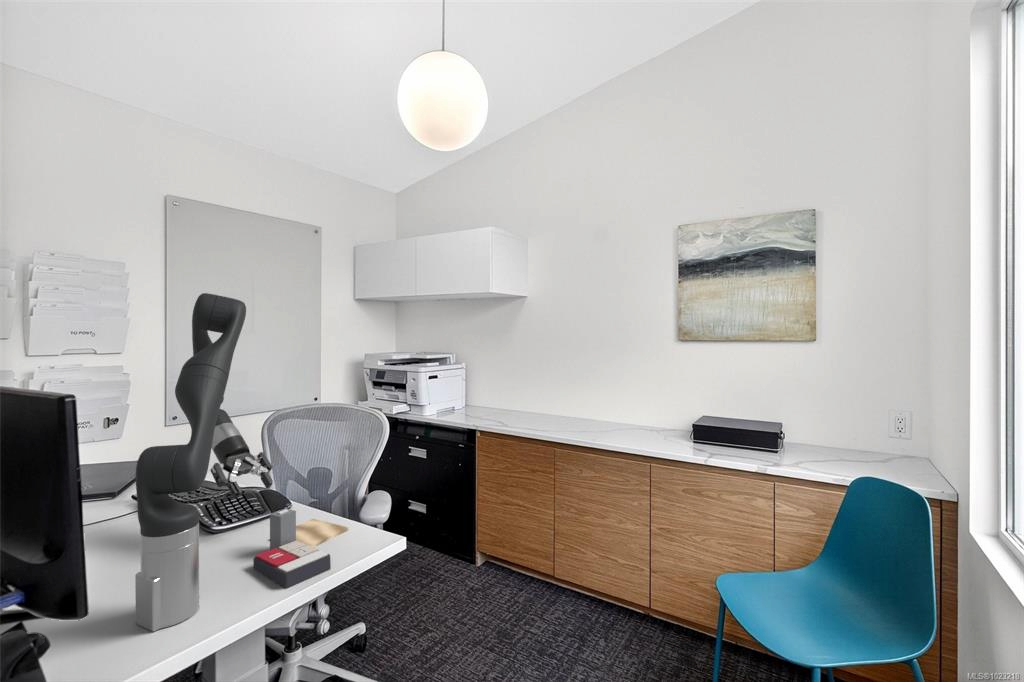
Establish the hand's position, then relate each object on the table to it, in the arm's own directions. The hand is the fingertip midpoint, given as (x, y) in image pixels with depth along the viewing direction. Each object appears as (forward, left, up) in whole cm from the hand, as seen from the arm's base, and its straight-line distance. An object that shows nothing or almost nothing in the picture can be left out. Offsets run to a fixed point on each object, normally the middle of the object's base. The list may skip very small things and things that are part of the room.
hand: (255, 490), depth 122 cm
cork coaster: (+10, -9, -14) cm, 19 cm away
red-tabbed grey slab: (-5, -20, -15) cm, 25 cm away
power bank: (0, -11, -14) cm, 18 cm away
